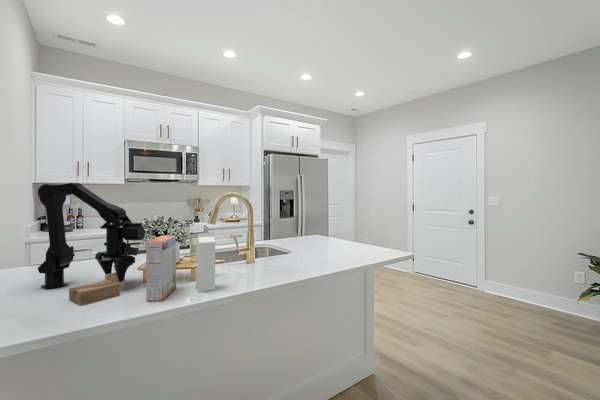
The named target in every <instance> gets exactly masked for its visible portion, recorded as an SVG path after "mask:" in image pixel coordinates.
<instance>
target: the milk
mask: <svg viewBox="0 0 600 400" xmlns="http://www.w3.org/2000/svg"><path fill="white" fill-rule="evenodd" d="M214 236H215V235H214V232H199V233H197V239H196V243H195V245H196V248H195V250H196V252H195V253H196V256H195V257H196V258H195V260H196V261H195V289H196V290H197V292H198V293H199V294H200V293H206V292H213V291H215V290H216V289H215V288H216V286H215V285H216V284H215V283H216V239H215V237H214Z"/></svg>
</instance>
